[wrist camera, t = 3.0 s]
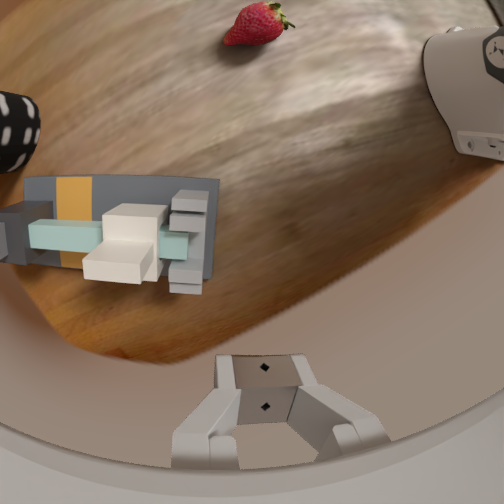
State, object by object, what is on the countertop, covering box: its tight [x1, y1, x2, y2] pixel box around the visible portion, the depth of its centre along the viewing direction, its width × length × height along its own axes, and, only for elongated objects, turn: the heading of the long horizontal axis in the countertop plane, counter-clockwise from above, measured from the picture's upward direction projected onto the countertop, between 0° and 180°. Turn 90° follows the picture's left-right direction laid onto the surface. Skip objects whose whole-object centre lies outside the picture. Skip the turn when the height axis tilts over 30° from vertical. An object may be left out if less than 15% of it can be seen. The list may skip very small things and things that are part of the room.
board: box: [24, 175, 220, 279], centre depth 23 cm, size 20×9×1 cm, turn 84°
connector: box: [0, 201, 54, 266], centre depth 19 cm, size 4×4×7 cm
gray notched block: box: [169, 190, 209, 295], centre depth 22 cm, size 2×7×6 cm, turn 173°
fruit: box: [223, 1, 295, 45], centre depth 17 cm, size 4×6×5 cm
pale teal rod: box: [28, 219, 190, 260], centre depth 20 cm, size 16×2×2 cm, turn 84°
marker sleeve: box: [82, 203, 168, 284], centre depth 18 cm, size 4×5×9 cm
